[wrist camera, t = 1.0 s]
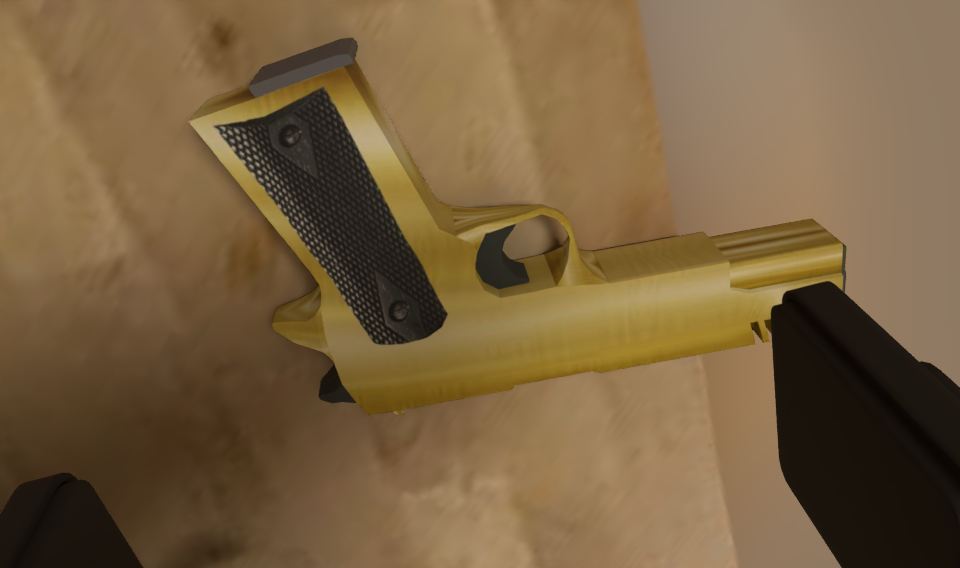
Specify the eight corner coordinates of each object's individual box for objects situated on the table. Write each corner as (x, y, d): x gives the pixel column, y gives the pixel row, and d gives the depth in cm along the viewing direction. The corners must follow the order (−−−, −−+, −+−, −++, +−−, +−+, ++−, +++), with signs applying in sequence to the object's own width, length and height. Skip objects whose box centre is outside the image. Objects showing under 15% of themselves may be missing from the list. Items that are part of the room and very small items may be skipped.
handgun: (175, 84, 21) (295, 438, 26) (879, -44, 21) (850, 336, 26) (196, 65, 23) (303, 395, 28) (833, -50, 23) (816, 300, 29)
